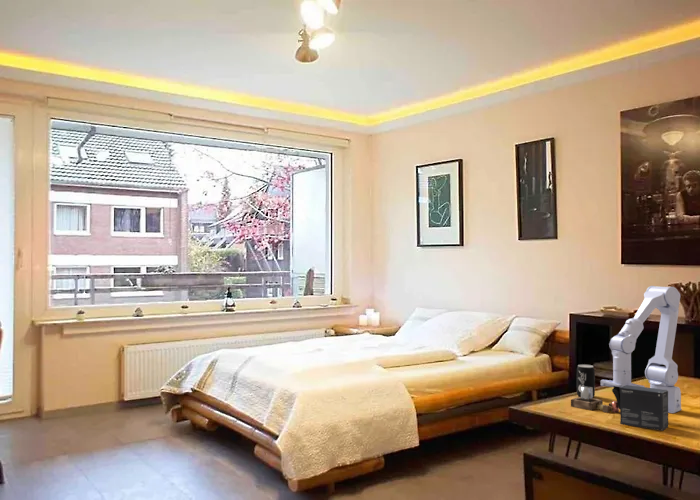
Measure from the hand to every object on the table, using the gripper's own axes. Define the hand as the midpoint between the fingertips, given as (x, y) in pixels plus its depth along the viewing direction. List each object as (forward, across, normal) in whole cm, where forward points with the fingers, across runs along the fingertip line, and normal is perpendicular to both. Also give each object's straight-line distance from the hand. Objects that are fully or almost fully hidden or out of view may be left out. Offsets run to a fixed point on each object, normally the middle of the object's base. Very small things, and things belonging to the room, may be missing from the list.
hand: (622, 409), depth 213 cm
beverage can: (+2, -21, +16) cm, 27 cm away
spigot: (+1, -13, 0) cm, 13 cm away
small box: (+2, +12, -10) cm, 15 cm away
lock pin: (+1, -6, 0) cm, 7 cm away
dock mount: (+1, -10, 0) cm, 10 cm away
